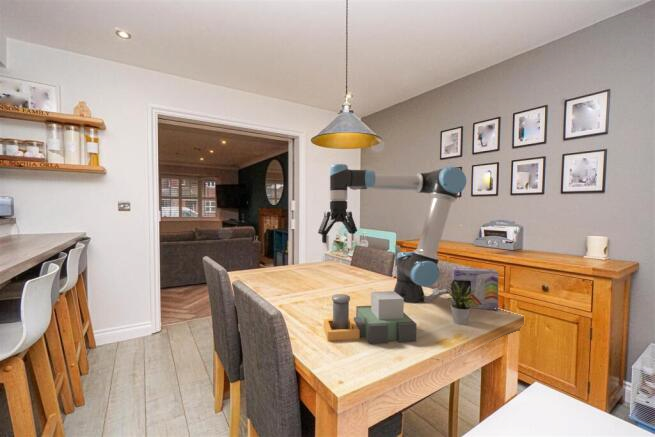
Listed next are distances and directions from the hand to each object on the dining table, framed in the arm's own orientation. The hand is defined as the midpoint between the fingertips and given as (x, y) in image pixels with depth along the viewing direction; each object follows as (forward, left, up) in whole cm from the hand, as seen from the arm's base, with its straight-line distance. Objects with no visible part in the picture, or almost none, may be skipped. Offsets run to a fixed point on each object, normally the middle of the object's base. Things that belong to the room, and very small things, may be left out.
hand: (338, 249), depth 123 cm
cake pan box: (-62, +4, -27) cm, 68 cm away
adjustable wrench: (-52, -14, -27) cm, 60 cm away
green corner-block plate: (-6, +23, -27) cm, 36 cm away
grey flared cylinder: (+3, +23, -27) cm, 35 cm away
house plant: (-45, +18, -27) cm, 55 cm away
